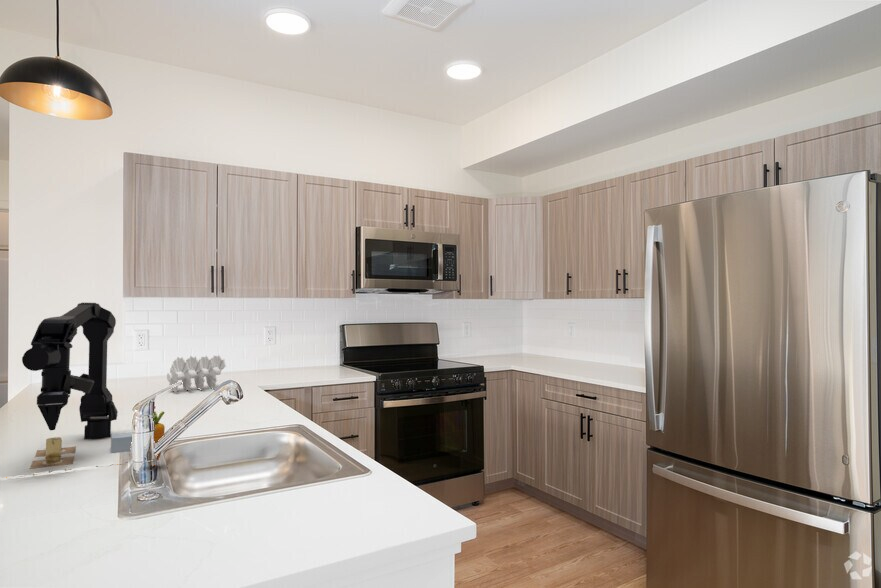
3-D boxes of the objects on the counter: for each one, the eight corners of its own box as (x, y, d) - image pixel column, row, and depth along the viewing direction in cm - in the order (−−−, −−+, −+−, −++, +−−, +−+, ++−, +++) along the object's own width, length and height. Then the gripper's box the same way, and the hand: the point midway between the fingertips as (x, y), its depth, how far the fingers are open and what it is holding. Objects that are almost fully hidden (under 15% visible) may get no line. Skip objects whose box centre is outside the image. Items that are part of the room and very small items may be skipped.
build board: (74, 459, 143) (74, 455, 143) (73, 467, 137) (73, 463, 137) (32, 464, 138) (32, 460, 138) (29, 472, 132) (29, 468, 132)
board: (75, 449, 153) (76, 435, 154) (74, 456, 147) (75, 441, 147) (37, 454, 149) (37, 439, 149) (34, 461, 142) (34, 445, 142)
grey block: (134, 448, 155) (135, 431, 155) (135, 453, 150) (136, 436, 150) (110, 451, 152) (111, 434, 152) (110, 456, 147) (111, 438, 147)
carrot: (167, 465, 140) (169, 408, 140) (155, 470, 135) (157, 411, 136) (150, 464, 140) (151, 407, 141) (137, 469, 136) (139, 411, 136)
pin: (60, 459, 140) (61, 436, 140) (60, 462, 137) (61, 439, 137) (45, 461, 138) (46, 438, 138) (44, 464, 135) (45, 440, 136)
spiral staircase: (165, 400, 258) (215, 392, 276) (178, 388, 247) (229, 381, 265) (158, 365, 263) (208, 360, 281) (170, 352, 252) (221, 347, 271)
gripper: (92, 368, 135) (90, 430, 134) (93, 362, 150) (91, 417, 150) (37, 370, 129) (35, 435, 128) (44, 364, 144) (42, 421, 144)
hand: (53, 426), depth 138 cm, fingers open, 9 cm apart
